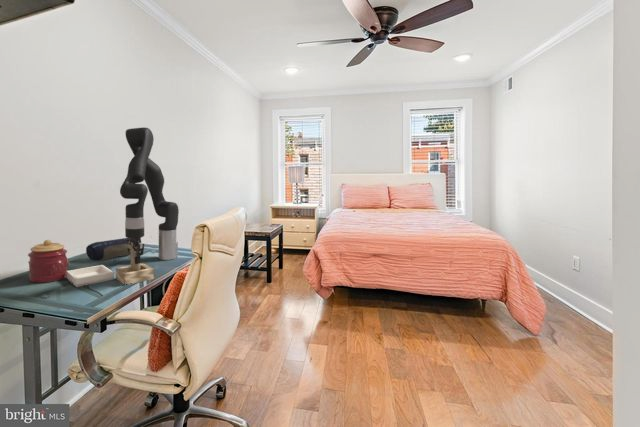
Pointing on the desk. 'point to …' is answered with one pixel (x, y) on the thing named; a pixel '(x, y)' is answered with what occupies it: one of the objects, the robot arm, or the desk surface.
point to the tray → (89, 275)
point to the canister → (47, 262)
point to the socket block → (134, 274)
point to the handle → (133, 259)
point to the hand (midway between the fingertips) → (135, 262)
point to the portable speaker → (107, 249)
